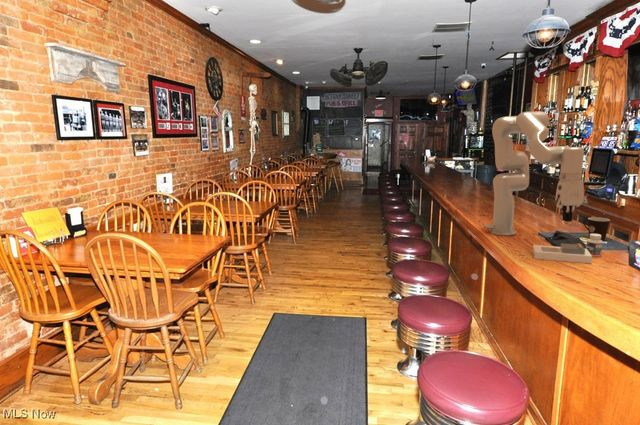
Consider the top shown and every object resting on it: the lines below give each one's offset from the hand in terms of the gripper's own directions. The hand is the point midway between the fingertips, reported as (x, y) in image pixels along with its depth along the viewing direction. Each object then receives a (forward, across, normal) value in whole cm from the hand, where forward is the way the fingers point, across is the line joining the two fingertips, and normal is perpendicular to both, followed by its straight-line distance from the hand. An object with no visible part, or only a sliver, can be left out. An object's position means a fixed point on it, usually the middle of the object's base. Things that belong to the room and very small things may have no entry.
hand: (566, 220), depth 164 cm
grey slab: (+12, 0, -4) cm, 13 cm away
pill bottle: (+15, +12, -3) cm, 20 cm away
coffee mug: (+15, +34, +17) cm, 41 cm away
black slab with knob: (+16, +14, +13) cm, 25 cm away
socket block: (+15, -3, -1) cm, 16 cm away
